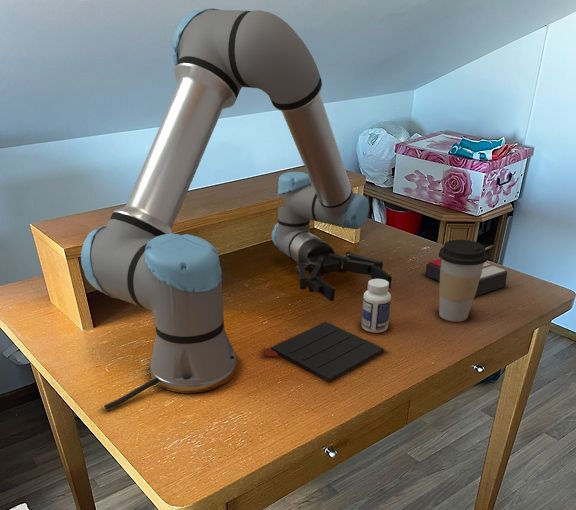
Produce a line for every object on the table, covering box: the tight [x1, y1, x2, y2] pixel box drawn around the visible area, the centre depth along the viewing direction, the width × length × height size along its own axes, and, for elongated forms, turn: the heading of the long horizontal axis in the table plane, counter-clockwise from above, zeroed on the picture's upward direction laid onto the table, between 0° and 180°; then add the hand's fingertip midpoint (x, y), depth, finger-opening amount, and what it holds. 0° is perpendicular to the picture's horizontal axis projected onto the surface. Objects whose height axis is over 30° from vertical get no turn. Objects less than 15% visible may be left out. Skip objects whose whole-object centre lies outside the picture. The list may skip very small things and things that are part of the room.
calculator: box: [425, 257, 508, 297], centre depth 139 cm, size 11×4×15 cm
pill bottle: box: [361, 278, 392, 334], centre depth 118 cm, size 5×5×10 cm
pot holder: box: [264, 321, 385, 383], centre depth 112 cm, size 17×16×1 cm
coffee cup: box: [438, 239, 489, 323], centre depth 121 cm, size 9×9×15 cm
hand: (361, 288), depth 122 cm, fingers open, 13 cm apart
